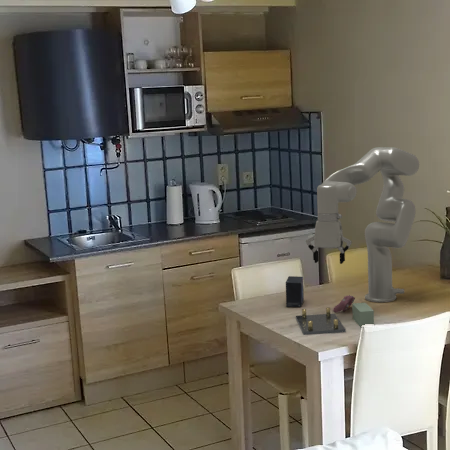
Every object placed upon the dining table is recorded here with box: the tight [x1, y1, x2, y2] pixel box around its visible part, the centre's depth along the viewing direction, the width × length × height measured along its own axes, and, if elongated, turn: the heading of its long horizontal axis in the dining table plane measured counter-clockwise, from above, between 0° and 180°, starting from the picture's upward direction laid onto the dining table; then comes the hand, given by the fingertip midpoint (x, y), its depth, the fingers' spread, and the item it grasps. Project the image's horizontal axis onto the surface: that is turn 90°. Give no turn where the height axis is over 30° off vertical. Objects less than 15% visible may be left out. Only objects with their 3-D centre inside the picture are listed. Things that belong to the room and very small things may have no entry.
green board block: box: [351, 302, 375, 328], centre depth 262 cm, size 5×11×6 cm, turn 4°
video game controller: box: [333, 294, 356, 313], centre depth 279 cm, size 10×5×7 cm, turn 148°
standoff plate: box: [295, 306, 346, 336], centre depth 262 cm, size 15×20×4 cm
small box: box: [285, 275, 305, 308], centre depth 291 cm, size 11×6×10 cm, turn 168°
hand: (329, 262), depth 268 cm, fingers open, 9 cm apart
